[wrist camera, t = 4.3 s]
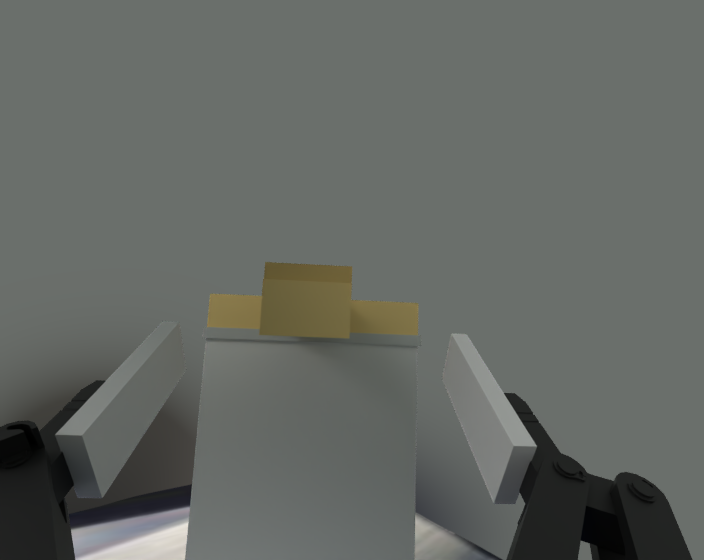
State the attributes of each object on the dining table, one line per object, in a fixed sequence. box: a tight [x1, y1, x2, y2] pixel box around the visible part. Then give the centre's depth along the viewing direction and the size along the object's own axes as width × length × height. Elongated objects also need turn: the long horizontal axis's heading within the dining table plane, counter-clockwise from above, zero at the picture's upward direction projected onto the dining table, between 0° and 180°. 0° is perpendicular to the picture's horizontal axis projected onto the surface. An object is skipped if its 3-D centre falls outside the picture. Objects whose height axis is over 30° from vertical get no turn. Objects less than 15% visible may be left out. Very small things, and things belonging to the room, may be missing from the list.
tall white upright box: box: [185, 327, 421, 560], centre depth 32 cm, size 16×16×30 cm
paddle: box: [207, 262, 418, 338], centre depth 29 cm, size 27×16×3 cm, turn 4°
